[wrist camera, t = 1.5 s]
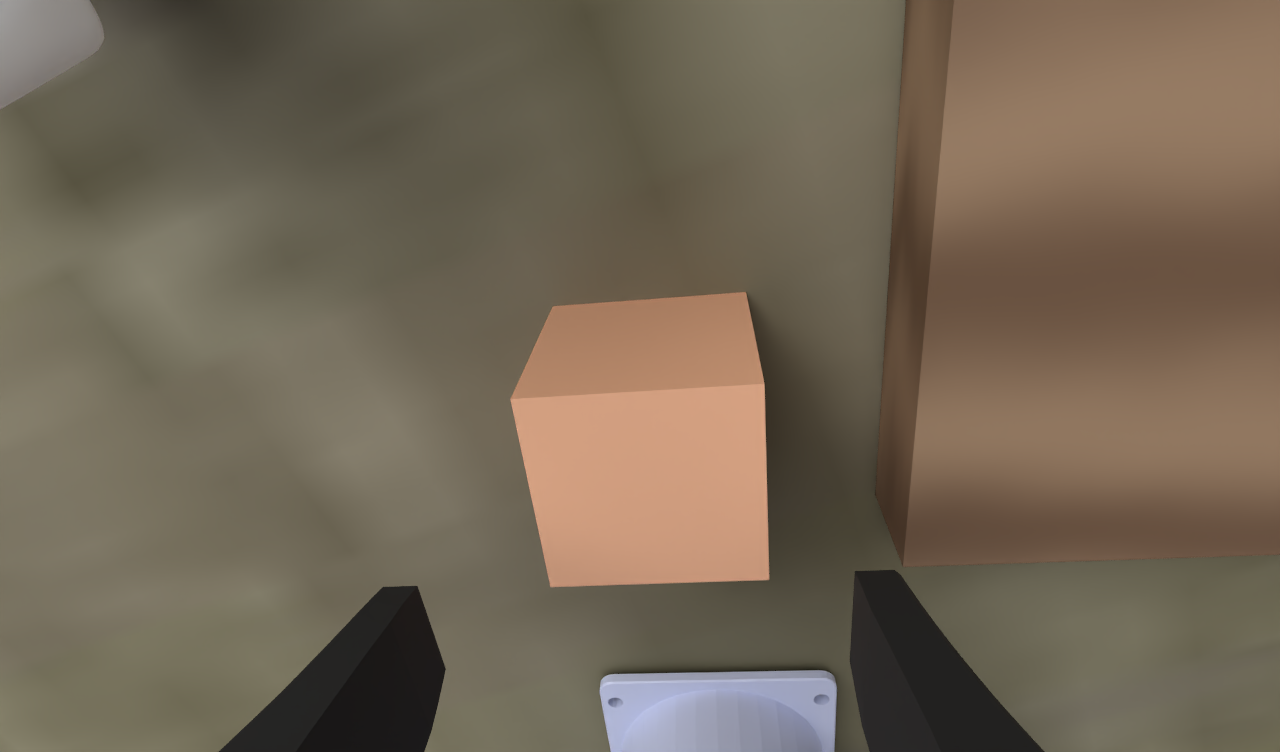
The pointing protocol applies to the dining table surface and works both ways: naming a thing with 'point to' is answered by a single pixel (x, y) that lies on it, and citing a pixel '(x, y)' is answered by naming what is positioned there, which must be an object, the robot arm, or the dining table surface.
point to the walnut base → (1084, 283)
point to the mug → (43, 42)
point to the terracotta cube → (647, 442)
